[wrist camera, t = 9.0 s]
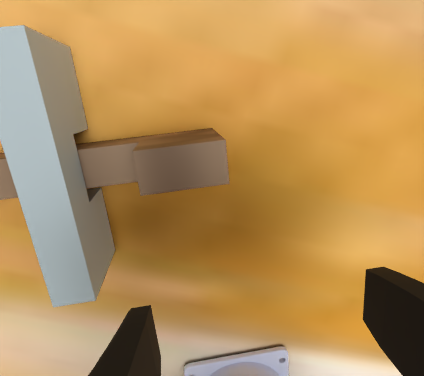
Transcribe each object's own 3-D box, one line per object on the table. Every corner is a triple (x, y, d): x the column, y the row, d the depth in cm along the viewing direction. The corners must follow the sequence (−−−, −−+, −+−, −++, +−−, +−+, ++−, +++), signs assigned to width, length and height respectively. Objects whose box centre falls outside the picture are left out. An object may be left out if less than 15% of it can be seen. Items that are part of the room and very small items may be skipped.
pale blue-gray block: (115, 250, 19) (95, 300, 14) (83, 254, 19) (53, 307, 14) (69, 47, 16) (23, 25, 11) (29, 50, 15) (-35, 30, 11)
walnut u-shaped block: (211, 128, 18) (225, 139, 13) (215, 161, 18) (229, 183, 14) (-76, 162, 16) (-179, 189, 12) (-63, 196, 17) (-155, 235, 12)
